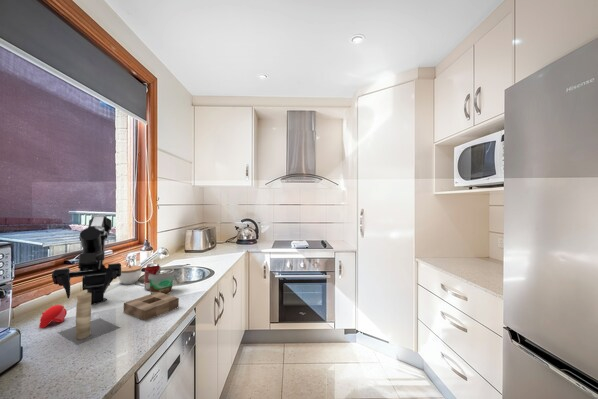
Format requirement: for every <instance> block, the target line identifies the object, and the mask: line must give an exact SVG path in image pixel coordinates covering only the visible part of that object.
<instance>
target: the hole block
mask: <svg viewBox="0 0 598 399" xmlns="http://www.w3.org/2000/svg"><path fill="white" fill-rule="evenodd" d="M179 301H180V300H179V297H177V296H174V295H170V294H164V293H161V292H156V293H153V294H151V293H149V294H147V295H144V296H140V297H137V298H134V299H131V300H129V301H125V302H123V310H122V311H123V313H124V314H127V315H129V316H132V317H135V318H137V319H139V320H142V321H147V320H149V319H152V318H155V317H159V316H162V315H163V314H166V313H168V312H170V311H174V310H176V309H178V308H179V305H180V304H179ZM177 307H178V308H177ZM175 308H176V309H175ZM173 309H174V310H173Z"/></svg>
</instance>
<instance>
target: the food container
mask: <svg viewBox="0 0 598 399" xmlns="http://www.w3.org/2000/svg"><path fill="white" fill-rule="evenodd" d="M175 275H176V272H175V269H174V268H172V269H171V270H170V271H162V272H161V271H160V273H159V274H156V275H151V274H149V276H148V279H149V280H150V290H149V291H150V294H153V293H156V292H161V293H164V294H167V295H169V294H170V293H171V292H172V291H173V283H174V276H175Z"/></svg>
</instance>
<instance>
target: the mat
mask: <svg viewBox="0 0 598 399" xmlns="http://www.w3.org/2000/svg"><path fill="white" fill-rule="evenodd" d="M120 328H121V327H120V326H119V325H116V324H114V323H112V322H109V321H108V320H105V319H103V318H102V317H99V318H96V319H93V320H91V328H90V336H89V337H87V338H85V339H80V340H77V339H76V325H75V326H73V327H70V328H67V329H64V330H60V331H59V332H57V334H59V335H60V336H62V337H64V338H65V339H67V340H68V341H70V342H71V343H73V344H74V345H76V346H79V345H81V344H84V343H86V342H88V341H90V340H94V339H96V338H98V337H101V336H104V335H105V334H108V333H111V332H113V331H116V330H119V329H120Z"/></svg>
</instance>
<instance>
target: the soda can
mask: <svg viewBox="0 0 598 399" xmlns="http://www.w3.org/2000/svg"><path fill="white" fill-rule="evenodd" d="M159 273H161V266H160V263H158V262H157V263H156V262H154V263H148V264H146V267H145V268H144V289H145V290H147V291H150V280H149V279H148V276H149V274H151V275H156V274H159Z"/></svg>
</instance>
